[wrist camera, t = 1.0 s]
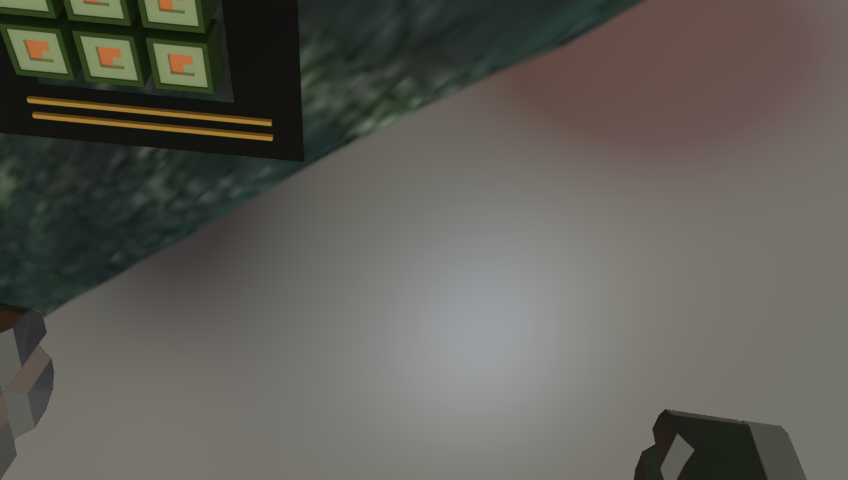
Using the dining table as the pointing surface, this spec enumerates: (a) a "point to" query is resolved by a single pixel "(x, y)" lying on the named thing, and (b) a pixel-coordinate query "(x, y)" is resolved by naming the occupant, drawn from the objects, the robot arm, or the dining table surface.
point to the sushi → (154, 73)
